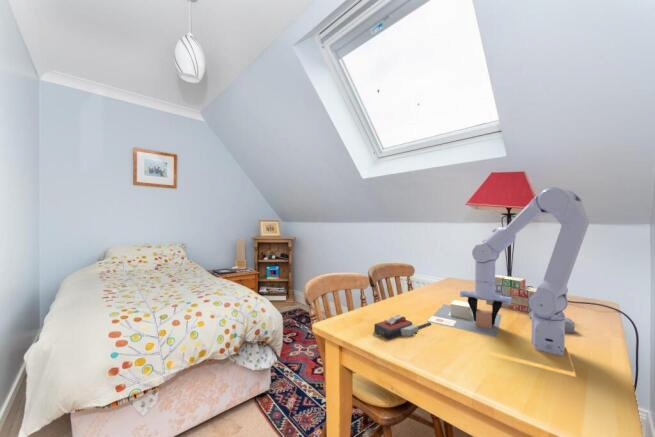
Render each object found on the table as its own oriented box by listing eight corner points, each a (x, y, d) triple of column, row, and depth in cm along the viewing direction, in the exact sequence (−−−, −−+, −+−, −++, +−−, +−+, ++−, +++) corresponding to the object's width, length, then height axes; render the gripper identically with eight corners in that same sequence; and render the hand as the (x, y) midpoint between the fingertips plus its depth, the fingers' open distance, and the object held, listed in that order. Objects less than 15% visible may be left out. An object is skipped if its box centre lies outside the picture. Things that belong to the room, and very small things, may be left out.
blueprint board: (496, 339, 82) (496, 336, 82) (426, 324, 93) (426, 321, 93) (501, 317, 101) (501, 314, 101) (443, 306, 113) (443, 304, 113)
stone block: (544, 337, 89) (579, 333, 87) (540, 322, 89) (575, 318, 87) (525, 324, 101) (556, 321, 99) (522, 311, 101) (553, 307, 99)
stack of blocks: (553, 316, 103) (554, 283, 103) (547, 320, 99) (548, 285, 99) (492, 301, 120) (492, 273, 120) (485, 304, 117) (485, 275, 117)
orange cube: (491, 328, 88) (491, 314, 88) (475, 325, 91) (476, 311, 91) (492, 324, 92) (492, 310, 92) (477, 321, 94) (477, 308, 94)
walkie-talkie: (391, 344, 79) (433, 328, 90) (391, 328, 79) (433, 315, 90) (369, 333, 86) (410, 320, 97) (370, 319, 86) (411, 307, 97)
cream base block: (468, 318, 97) (469, 307, 97) (450, 314, 100) (450, 303, 100) (471, 313, 102) (471, 303, 102) (453, 310, 105) (454, 300, 105)
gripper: (511, 281, 90) (511, 323, 90) (463, 276, 99) (462, 314, 99) (511, 286, 85) (510, 330, 85) (459, 279, 93) (458, 319, 93)
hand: (484, 322), depth 91 cm, fingers closed on orange cube, 4 cm apart
